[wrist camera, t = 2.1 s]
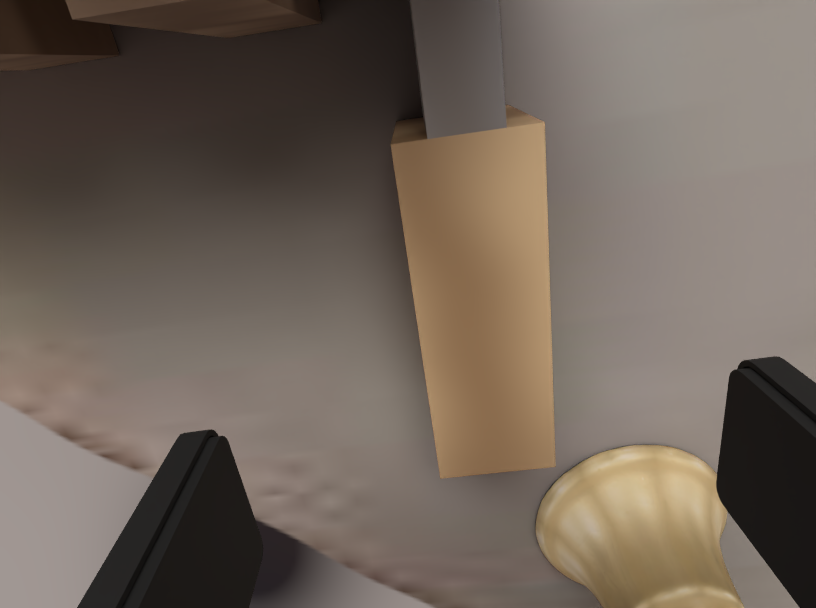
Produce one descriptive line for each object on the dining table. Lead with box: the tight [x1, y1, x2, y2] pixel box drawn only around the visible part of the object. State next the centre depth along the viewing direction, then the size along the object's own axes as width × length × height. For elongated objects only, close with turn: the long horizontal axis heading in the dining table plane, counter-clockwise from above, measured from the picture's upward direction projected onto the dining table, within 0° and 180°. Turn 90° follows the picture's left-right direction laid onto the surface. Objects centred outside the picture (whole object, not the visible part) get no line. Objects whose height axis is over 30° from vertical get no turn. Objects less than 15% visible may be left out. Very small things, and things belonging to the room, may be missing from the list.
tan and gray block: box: [391, 0, 556, 479], centre depth 16 cm, size 4×14×5 cm, turn 8°
